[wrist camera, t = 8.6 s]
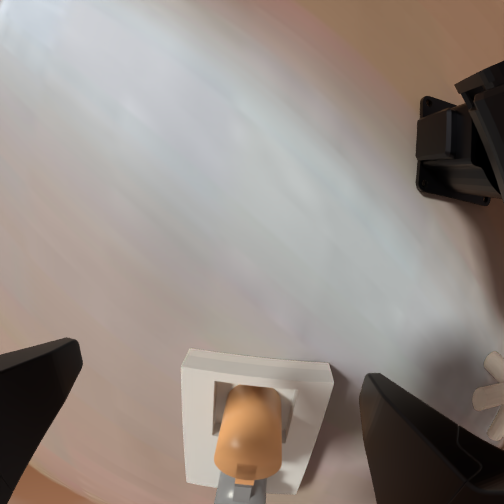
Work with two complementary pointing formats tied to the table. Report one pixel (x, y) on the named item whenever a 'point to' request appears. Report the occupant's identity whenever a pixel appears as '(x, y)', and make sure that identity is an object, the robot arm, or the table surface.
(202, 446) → the housing
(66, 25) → the table surface
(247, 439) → the orange rounded tapered piece
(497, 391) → the pipe connector
